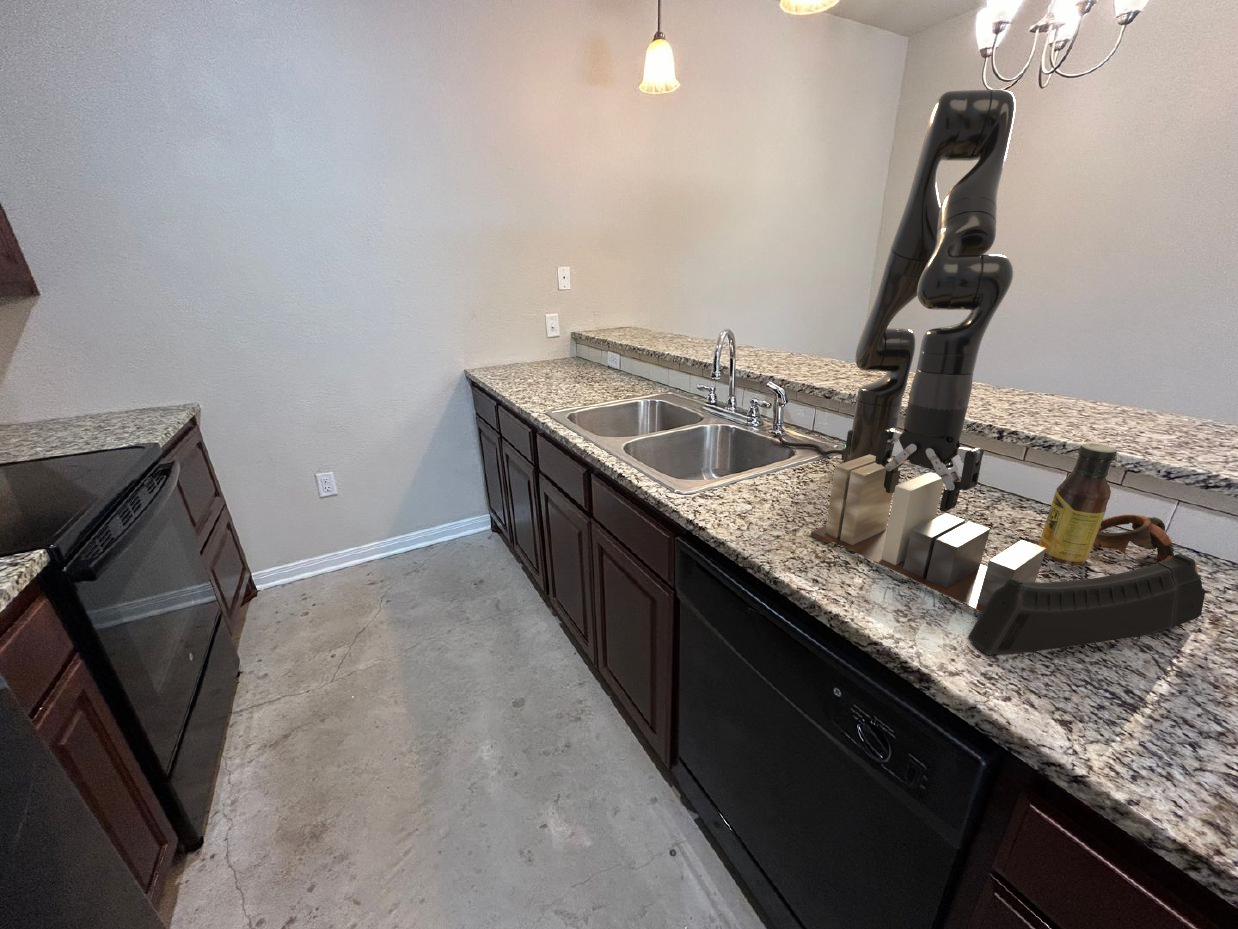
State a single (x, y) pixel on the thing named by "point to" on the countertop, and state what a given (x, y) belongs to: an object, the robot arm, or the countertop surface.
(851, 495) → the book board
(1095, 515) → the sauce bottle
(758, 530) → the countertop surface
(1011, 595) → the magazine
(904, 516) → the cream book
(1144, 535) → the rusty ring bracket
